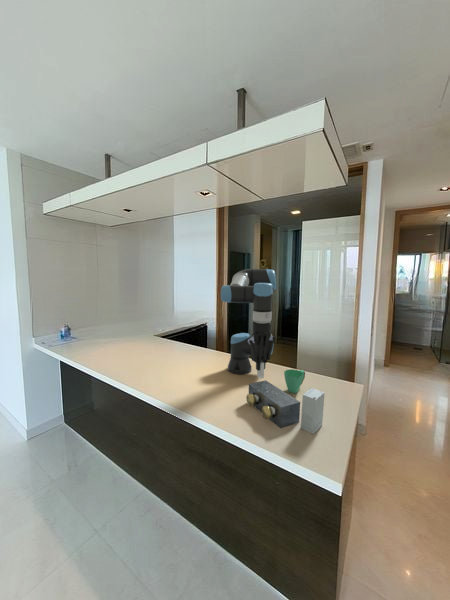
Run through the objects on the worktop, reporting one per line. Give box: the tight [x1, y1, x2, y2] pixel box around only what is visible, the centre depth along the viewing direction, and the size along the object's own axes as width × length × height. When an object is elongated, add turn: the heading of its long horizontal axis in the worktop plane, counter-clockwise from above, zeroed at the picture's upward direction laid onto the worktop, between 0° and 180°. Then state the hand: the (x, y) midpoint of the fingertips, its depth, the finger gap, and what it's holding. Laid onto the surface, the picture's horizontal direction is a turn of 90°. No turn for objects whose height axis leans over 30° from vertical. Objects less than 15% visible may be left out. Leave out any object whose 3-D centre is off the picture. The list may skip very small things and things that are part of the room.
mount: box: [248, 380, 301, 429], centre depth 118 cm, size 24×10×9 cm, turn 28°
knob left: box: [246, 393, 259, 407], centre depth 122 cm, size 5×12×5 cm, turn 118°
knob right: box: [261, 405, 275, 420], centre depth 111 cm, size 5×12×5 cm, turn 118°
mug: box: [283, 368, 306, 394], centre depth 140 cm, size 15×10×10 cm
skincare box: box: [300, 387, 325, 435], centre depth 105 cm, size 8×6×15 cm
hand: (260, 377), depth 108 cm, fingers closed
